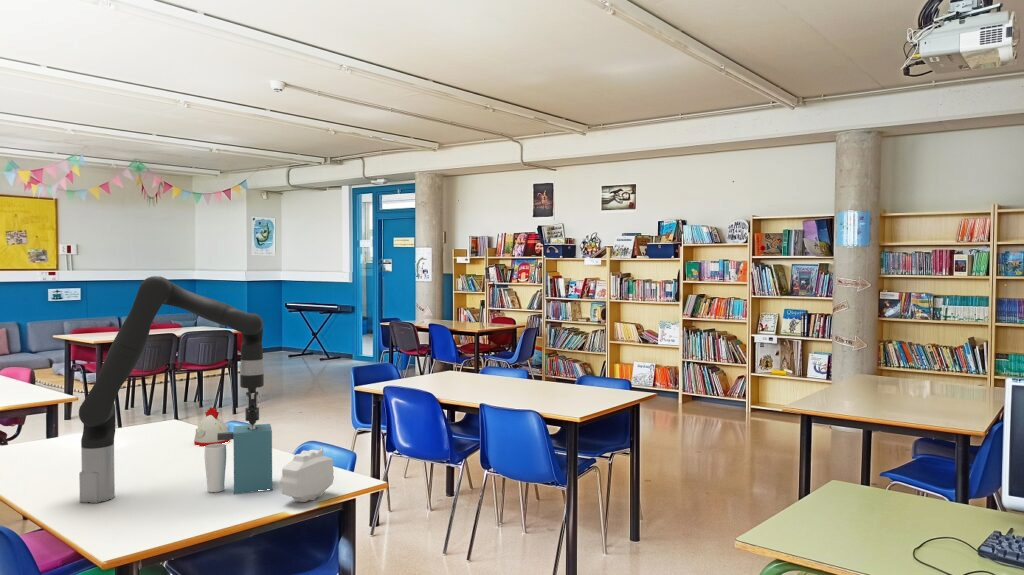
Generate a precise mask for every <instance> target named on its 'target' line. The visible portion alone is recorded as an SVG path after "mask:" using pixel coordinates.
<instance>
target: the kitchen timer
mask: <svg viewBox="0 0 1024 575" xmlns="http://www.w3.org/2000/svg"><path fill="white" fill-rule="evenodd" d="M206 410H207V411H205V412H204V413H205V417H204V418H203V419H202V420H201V422H200V423H199V425H198V426H197V428H196V429H195V435H194V440H193V441H194V444H193V445H194V446H196V445H200V446H199V447H204V446H207V445H211V444H222V443H225V442H228V441H229V440H218V441H217V434H218V433H225V432H229V425H228V423H227V424H226V423H225V421H224V420H223V419H222V418H221V417H219V411H218V408H215V407H212V406H211V407H209V409H206ZM229 442H230V441H229Z"/></svg>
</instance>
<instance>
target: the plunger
mask: <svg viewBox="0 0 1024 575" xmlns="http://www.w3.org/2000/svg"><path fill="white" fill-rule="evenodd" d="M248 409H249V407H248V406H247V407H245V416H244V417H245V418H244V419H245V421H246V422H249V411H248ZM259 420H260V407H258V406H257V411H256V422H257V421H259ZM249 425H250V429H255V425H256V423H249Z"/></svg>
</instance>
